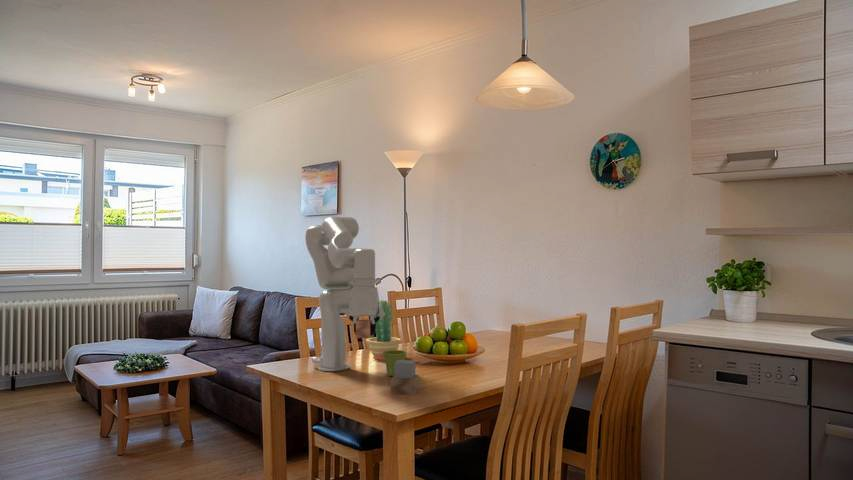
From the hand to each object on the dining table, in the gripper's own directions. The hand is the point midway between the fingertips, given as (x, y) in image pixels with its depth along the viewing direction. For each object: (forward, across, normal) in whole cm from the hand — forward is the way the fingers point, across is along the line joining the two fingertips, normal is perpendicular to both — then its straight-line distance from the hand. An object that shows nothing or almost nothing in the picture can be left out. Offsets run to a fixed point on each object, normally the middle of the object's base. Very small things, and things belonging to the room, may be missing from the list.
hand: (364, 334), depth 208 cm
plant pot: (+18, +7, +16) cm, 25 cm away
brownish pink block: (+1, 0, 0) cm, 1 cm away
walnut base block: (+18, +16, -7) cm, 25 cm away
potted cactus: (+17, -6, +48) cm, 52 cm away
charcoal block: (+13, +16, -7) cm, 22 cm away
